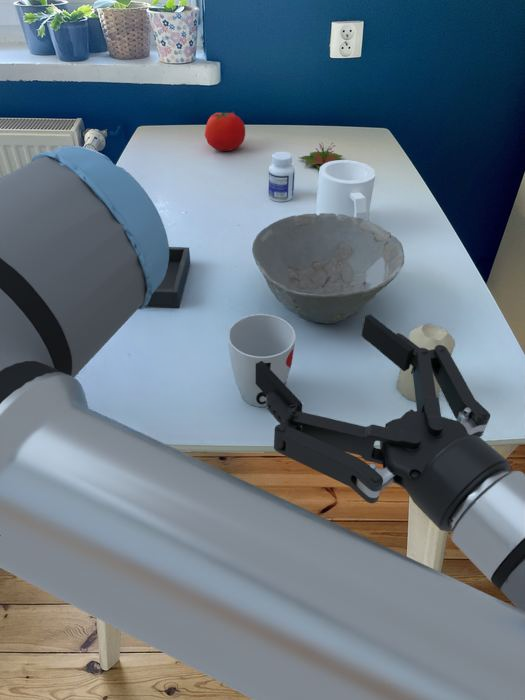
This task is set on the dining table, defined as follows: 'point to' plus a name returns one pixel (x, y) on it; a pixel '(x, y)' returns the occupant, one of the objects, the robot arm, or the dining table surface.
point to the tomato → (225, 131)
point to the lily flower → (321, 157)
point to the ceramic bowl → (326, 263)
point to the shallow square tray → (172, 280)
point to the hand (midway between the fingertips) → (314, 347)
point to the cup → (259, 352)
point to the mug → (345, 188)
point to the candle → (427, 339)
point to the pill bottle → (281, 177)
